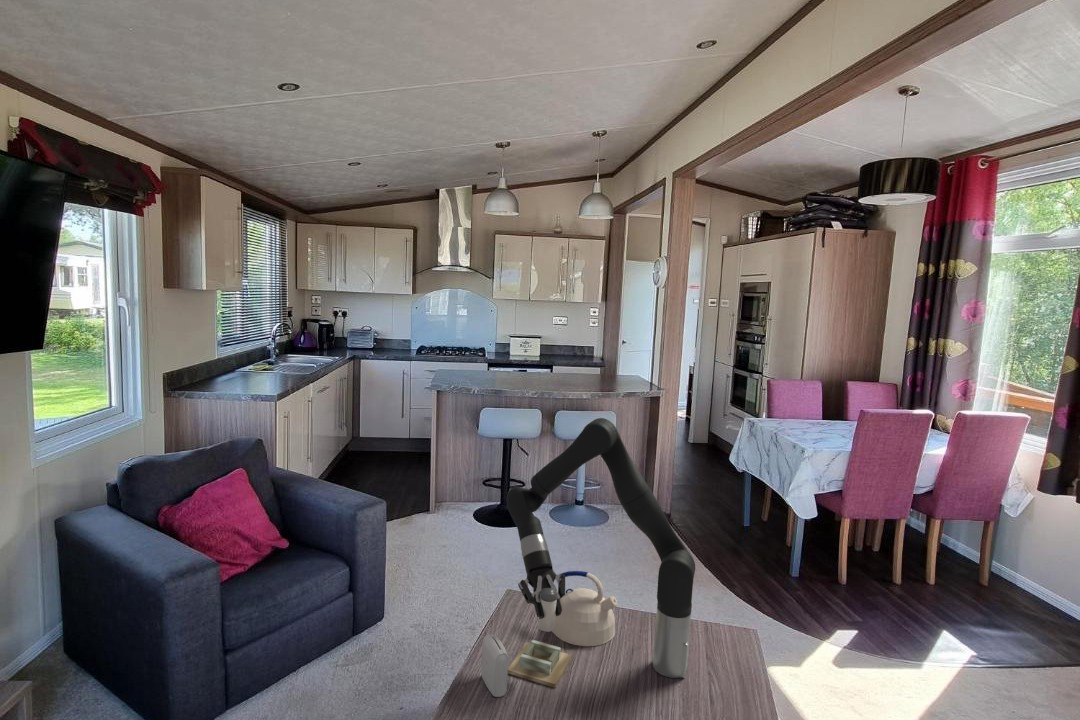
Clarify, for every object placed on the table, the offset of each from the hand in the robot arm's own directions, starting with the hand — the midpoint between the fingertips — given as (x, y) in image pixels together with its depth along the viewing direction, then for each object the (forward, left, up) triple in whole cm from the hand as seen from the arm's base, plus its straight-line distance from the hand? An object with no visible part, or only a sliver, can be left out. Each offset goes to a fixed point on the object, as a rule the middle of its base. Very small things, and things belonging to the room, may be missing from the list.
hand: (550, 616), depth 156 cm
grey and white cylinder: (+1, -1, -4) cm, 4 cm away
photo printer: (+11, +10, -17) cm, 23 cm away
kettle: (-2, -26, -17) cm, 31 cm away
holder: (+3, -3, -16) cm, 17 cm away
